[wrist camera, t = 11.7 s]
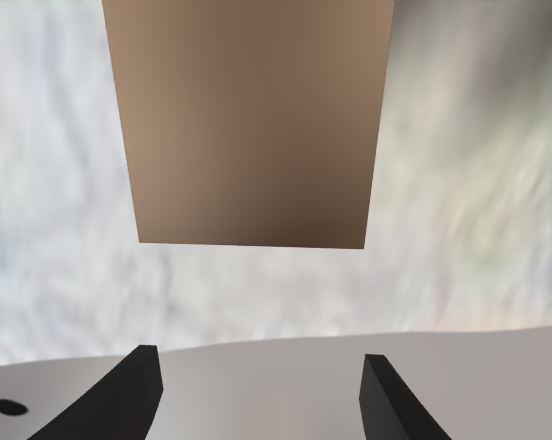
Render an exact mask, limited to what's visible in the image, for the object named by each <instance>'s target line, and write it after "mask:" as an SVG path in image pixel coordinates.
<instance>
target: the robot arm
mask: <svg viewBox="0 0 552 440" xmlns="http://www.w3.org/2000/svg"><path fill="white" fill-rule="evenodd" d="M162 392H163V383H162V377H161V371H160V364H159V358H158V351H157V346H155V345H139V346H138V347H137V348H135V349H134V350H133V351H132V352H131V353H130V354H129V355H127V356H126V357H125V358H124V359H123V360H122V361H121V362H120V363H119V364H117V366H115V367H114V368H113V369H112V370H111V371H110V372H109V373H108V374H106V375H105V376H104V377H103V378H102V379H101V380H100V381H99V382H97V383H96V384H95V385H94V386H93V387H92V388H90V389H89V390H88V391H87V392H86V393H85V394H84V395H82V396H81V397H80V398H79V399H78V400H76V401H75V402H74V403H73V404H71V406H69V407H68V408H67V409H65V410H64V411H63V412H62V413H60V414H59V415H58V416H57V417H56V418H54V419H53V420H52V421H51V422H49V423H48V424H47V425H45V426H44V427H43V428H42V429H40V430H39V431H38V432H36V433H35V434H34V435H32V436H31V437H30V438H28V439H27V440H145V438H146V436H147V434H148V431H149V429H150V427H151V425H152V422H153V420H154V416H155V414H156V411H157V408H158V405H159V402H160V399H161V395H162ZM359 402H360V408H361V414H362V421H363V426H364V432H365V436H366V440H452V439H451V438H450V437H449V436H448V435H447V434H446V432H445V431H444V430H443V429H442V428H441V427H440V426H439V424H438V423H437V422H436V421H435V420H434V419H433V417H432V416H431V415H430V414H429V413H428V411H427V410H426V409H425V408H424V406H423V405H422V404H421V403H420V401H419V400H418V399H417V398H416V396H415V395H414V394H413V393H412V391H411V390H410V389H409V387H408V386H407V385H406V384H405V382H404V381H403V380H402V378H401V377H400V376H399V374H398V373H397V372H396V371H395V369H394V368H393V366H392V365H391V364H390V362H389V361H388V360H387V358H386V357H385V356H384V355H374V354H365V360H364V367H363V375H362V381H361V388H360V395H359Z"/></svg>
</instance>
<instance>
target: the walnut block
mask: <svg viewBox="0 0 552 440" xmlns="http://www.w3.org/2000/svg"><path fill="white" fill-rule="evenodd" d="M394 3H395V0H102V5H103V11H104V18H105V24H106V30H107V37H108V43H109V50H110V56H111V63H112V69H113V76H114V82H115V89H116V95H117V101H118V108H119V114H120V121H121V127H122V134H123V140H124V147H125V153H126V160H127V166H128V172H129V179H130V185H131V192H132V198H133V205H134V211H135V218H136V224H137V231H138V237H139V243H171V244H204V245H238V246H272V247H305V248H339V249H364V244H365V235H366V227H367V219H368V211H369V203H370V195H371V187H372V179H373V171H374V163H375V155H376V147H377V139H378V131H379V123H380V115H381V107H382V99H383V91H384V83H385V75H386V67H387V59H388V51H389V43H390V35H391V27H392V19H393V11H394Z"/></svg>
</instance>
